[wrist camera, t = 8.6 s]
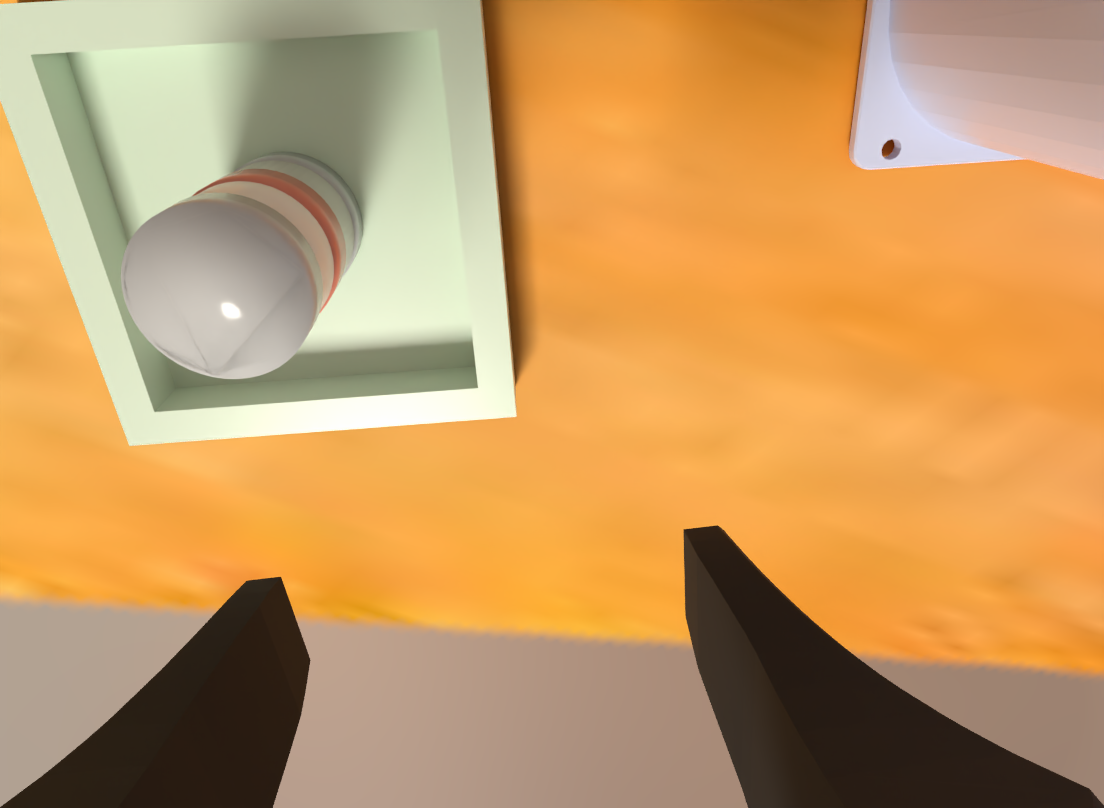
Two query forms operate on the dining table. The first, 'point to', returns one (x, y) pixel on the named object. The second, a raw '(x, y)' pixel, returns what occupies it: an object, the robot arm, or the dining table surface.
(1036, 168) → the dining table surface
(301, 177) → the fuse marked
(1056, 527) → the dining table surface
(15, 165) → the dining table surface
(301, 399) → the tray
